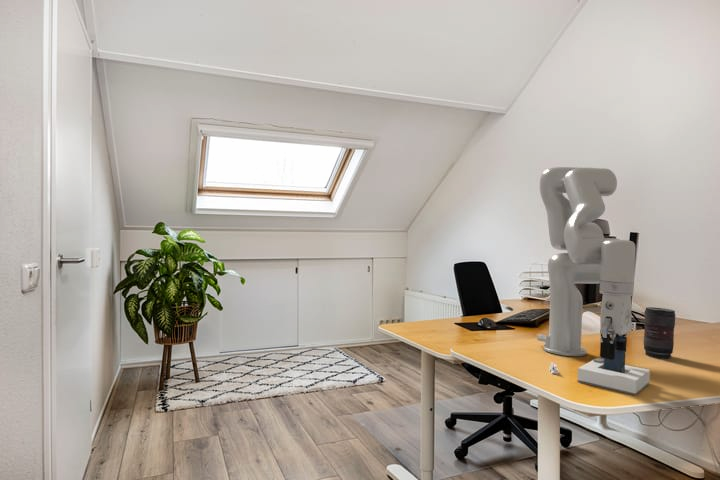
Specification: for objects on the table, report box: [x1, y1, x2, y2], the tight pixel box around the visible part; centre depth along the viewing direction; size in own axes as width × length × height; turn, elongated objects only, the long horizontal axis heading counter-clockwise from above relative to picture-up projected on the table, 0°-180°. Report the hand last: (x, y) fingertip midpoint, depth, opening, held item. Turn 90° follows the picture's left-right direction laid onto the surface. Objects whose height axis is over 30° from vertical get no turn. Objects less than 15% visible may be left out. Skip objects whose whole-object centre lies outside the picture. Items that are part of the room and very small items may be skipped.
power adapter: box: [548, 362, 559, 375], centre depth 123 cm, size 3×3×3 cm
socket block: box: [577, 357, 651, 396], centre depth 116 cm, size 13×13×4 cm
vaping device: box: [603, 335, 627, 374], centre depth 116 cm, size 3×5×12 cm, turn 27°
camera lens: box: [643, 306, 676, 360], centre depth 143 cm, size 8×8×15 cm
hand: (613, 354), depth 116 cm, fingers open, 9 cm apart
